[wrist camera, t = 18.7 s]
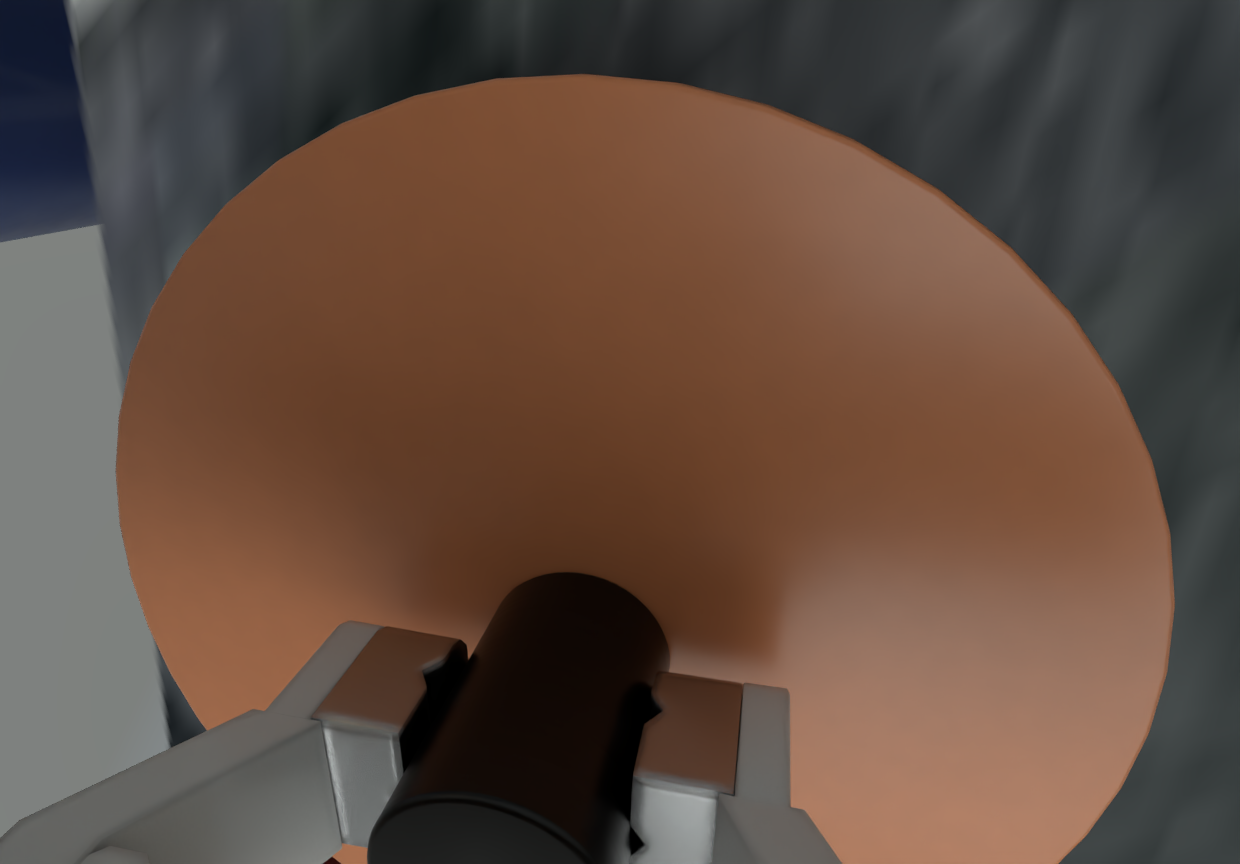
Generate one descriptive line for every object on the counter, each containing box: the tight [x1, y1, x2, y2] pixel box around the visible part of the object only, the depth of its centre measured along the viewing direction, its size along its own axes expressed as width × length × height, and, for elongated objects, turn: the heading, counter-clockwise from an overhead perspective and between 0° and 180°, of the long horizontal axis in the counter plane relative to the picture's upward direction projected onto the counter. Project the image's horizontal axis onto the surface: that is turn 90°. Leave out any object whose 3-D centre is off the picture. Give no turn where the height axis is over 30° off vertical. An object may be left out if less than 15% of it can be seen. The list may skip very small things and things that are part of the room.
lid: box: [116, 74, 1175, 864], centre depth 9 cm, size 14×14×5 cm
